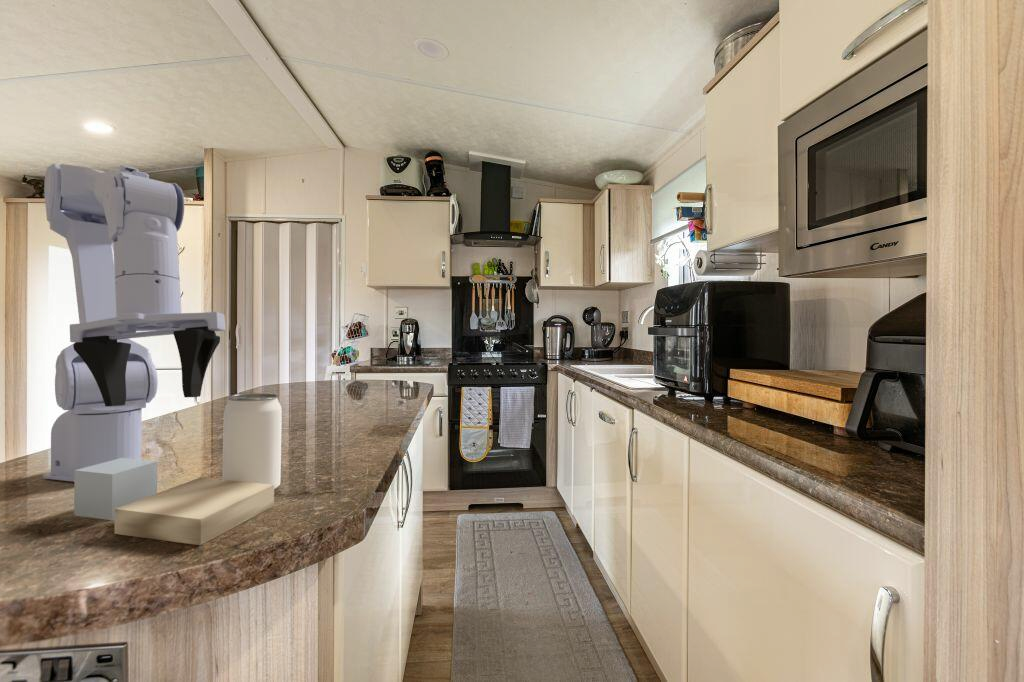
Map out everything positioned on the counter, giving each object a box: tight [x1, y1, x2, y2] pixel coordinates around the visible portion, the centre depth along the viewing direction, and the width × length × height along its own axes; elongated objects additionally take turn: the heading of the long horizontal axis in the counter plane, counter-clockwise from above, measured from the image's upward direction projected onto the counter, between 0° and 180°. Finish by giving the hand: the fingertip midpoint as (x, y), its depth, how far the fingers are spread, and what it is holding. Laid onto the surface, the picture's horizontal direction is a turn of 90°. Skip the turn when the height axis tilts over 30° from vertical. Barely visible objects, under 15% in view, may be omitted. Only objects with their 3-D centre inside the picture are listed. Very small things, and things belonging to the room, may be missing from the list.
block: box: [73, 458, 158, 521], centre depth 51 cm, size 5×5×5 cm
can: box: [222, 392, 283, 491], centre depth 58 cm, size 6×6×12 cm
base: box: [114, 477, 275, 546], centre depth 49 cm, size 10×10×2 cm
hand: (154, 401), depth 50 cm, fingers open, 7 cm apart
